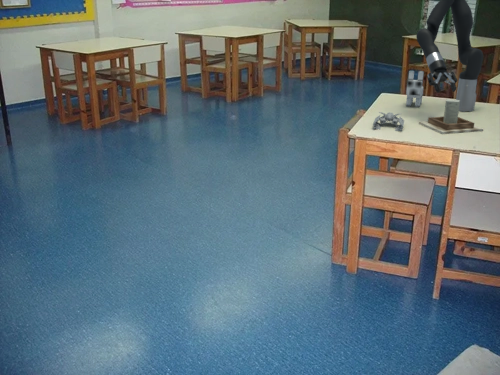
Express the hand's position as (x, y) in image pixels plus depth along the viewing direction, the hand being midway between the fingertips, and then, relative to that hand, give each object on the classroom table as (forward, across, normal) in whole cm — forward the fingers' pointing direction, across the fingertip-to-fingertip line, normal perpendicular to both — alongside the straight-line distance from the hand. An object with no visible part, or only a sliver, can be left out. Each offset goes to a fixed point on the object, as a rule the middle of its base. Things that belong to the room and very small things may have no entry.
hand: (447, 91), depth 254 cm
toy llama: (-18, +10, +42) cm, 47 cm away
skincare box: (+15, -1, +6) cm, 17 cm away
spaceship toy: (+10, -28, +14) cm, 33 cm away
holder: (+16, 0, +7) cm, 18 cm away
